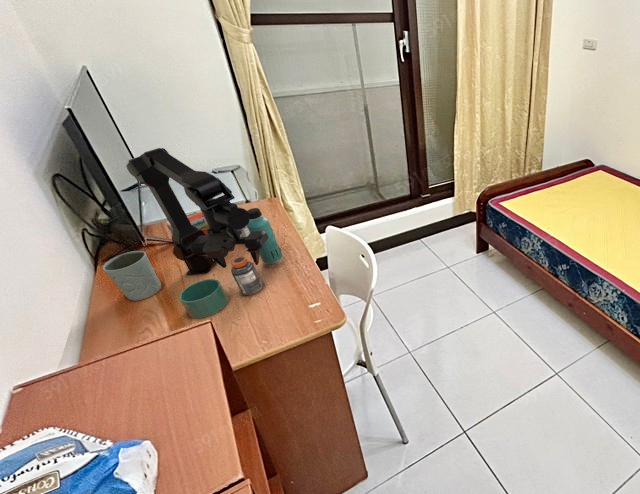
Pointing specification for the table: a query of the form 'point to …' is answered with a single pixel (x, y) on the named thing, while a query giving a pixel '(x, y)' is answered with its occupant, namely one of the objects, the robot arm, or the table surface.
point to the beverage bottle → (270, 248)
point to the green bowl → (203, 298)
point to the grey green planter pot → (133, 275)
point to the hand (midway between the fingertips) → (241, 265)
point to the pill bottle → (246, 276)
